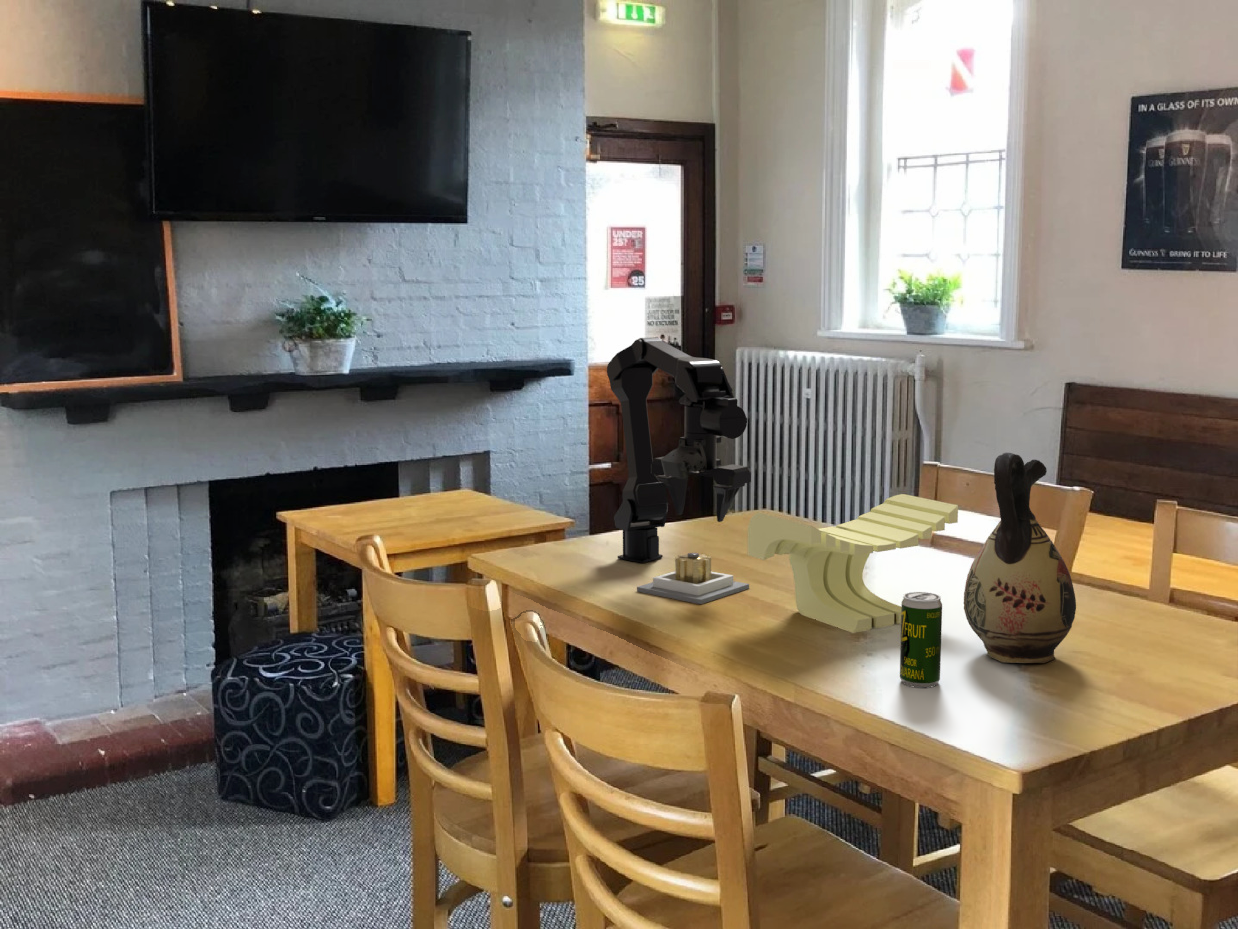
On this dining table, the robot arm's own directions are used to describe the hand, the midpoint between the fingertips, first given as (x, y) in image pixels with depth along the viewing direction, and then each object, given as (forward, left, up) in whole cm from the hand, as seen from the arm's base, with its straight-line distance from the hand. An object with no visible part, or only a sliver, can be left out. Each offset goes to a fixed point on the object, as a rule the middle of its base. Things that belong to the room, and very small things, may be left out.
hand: (699, 518), depth 233 cm
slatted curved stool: (+33, -3, -12) cm, 35 cm away
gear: (+3, -6, -11) cm, 12 cm away
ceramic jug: (+63, -8, -12) cm, 65 cm away
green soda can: (+58, -27, -12) cm, 65 cm away
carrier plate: (+3, -6, -12) cm, 13 cm away
